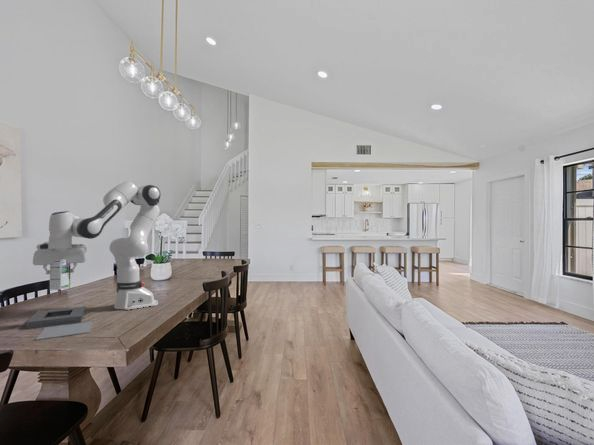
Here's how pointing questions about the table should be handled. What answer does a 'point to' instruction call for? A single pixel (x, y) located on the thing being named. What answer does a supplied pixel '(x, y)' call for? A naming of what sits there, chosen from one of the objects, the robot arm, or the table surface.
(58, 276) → the syrup box
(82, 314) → the holder block
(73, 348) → the table surface
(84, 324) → the grey mat
